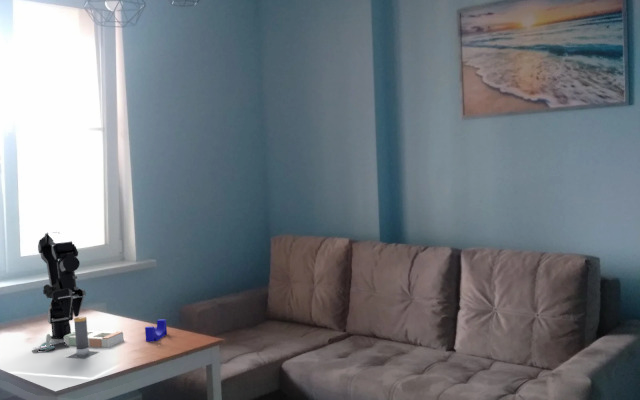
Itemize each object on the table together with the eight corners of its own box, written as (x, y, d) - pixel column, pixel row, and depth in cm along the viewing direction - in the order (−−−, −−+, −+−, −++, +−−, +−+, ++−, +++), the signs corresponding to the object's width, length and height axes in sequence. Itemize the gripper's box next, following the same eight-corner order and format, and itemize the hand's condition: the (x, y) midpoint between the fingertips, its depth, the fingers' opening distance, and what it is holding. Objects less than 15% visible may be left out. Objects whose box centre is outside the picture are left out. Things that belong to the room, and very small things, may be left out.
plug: (74, 356, 235) (71, 319, 234) (82, 352, 238) (79, 316, 238) (83, 356, 233) (81, 319, 232) (91, 353, 237) (88, 317, 236)
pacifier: (38, 355, 241) (56, 351, 244) (36, 338, 240) (54, 335, 243) (35, 351, 247) (52, 347, 250) (33, 334, 247) (50, 331, 250)
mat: (66, 359, 234) (65, 357, 233) (81, 352, 241) (81, 350, 241) (84, 360, 231) (84, 358, 231) (99, 353, 238) (99, 351, 238)
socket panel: (63, 346, 251) (62, 336, 251) (80, 339, 260) (79, 329, 259) (107, 348, 244) (107, 338, 244) (123, 341, 253) (122, 331, 252)
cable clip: (156, 334, 261) (155, 319, 261) (167, 334, 260) (165, 319, 260) (142, 343, 249) (141, 327, 249) (153, 343, 249) (152, 327, 248)
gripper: (54, 279, 257) (59, 320, 255) (34, 278, 238) (40, 322, 236) (83, 274, 257) (88, 314, 255) (65, 272, 239) (71, 316, 237)
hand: (72, 316), depth 246 cm, fingers open, 9 cm apart
